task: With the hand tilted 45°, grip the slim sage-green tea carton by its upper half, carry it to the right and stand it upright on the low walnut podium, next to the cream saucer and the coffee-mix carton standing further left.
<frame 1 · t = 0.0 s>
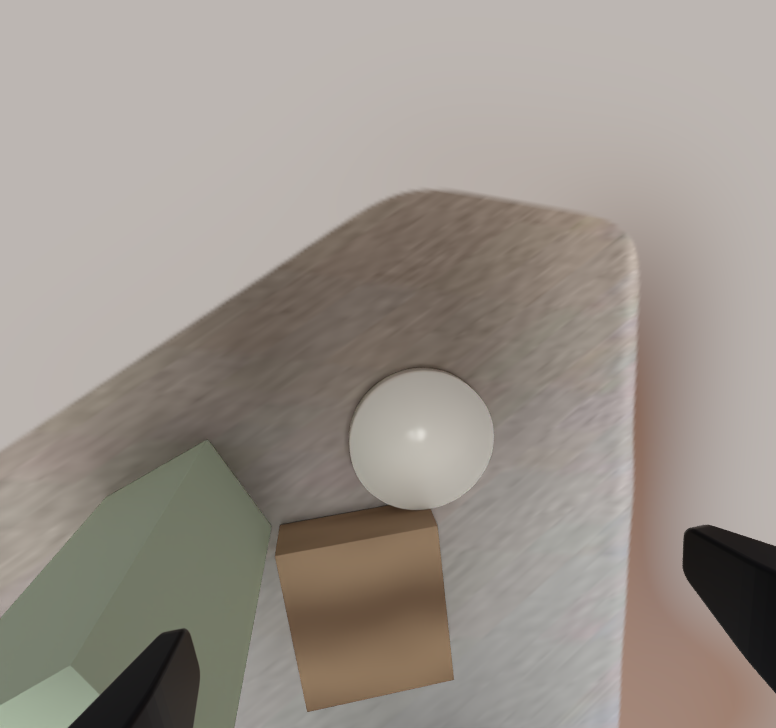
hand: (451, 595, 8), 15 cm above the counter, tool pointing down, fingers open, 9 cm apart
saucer: (419, 436, 24), on the counter
podium: (365, 586, 25), on the counter
tea carton: (191, 512, 23), on the counter
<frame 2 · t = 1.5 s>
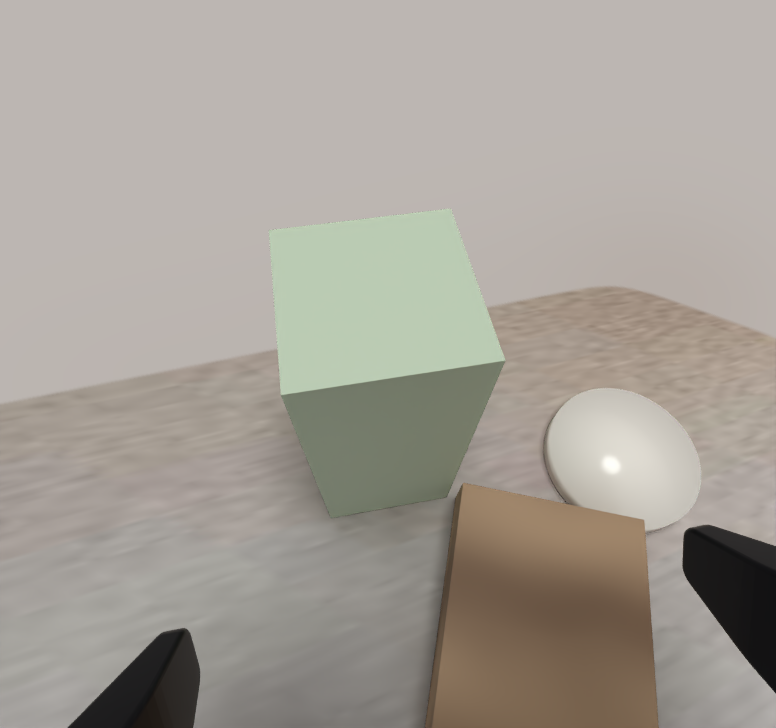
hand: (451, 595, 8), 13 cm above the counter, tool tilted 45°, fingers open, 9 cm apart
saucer: (615, 460, 23), on the counter
podium: (530, 623, 20), on the counter
tea carton: (379, 452, 24), on the counter
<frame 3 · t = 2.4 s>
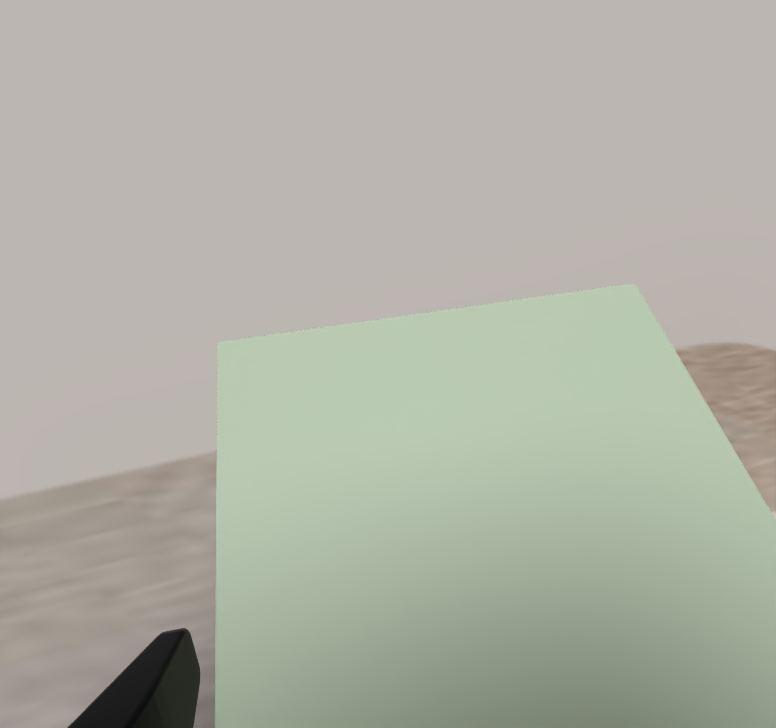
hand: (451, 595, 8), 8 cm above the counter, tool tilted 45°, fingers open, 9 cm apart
tea carton: (419, 615, 15), on the counter
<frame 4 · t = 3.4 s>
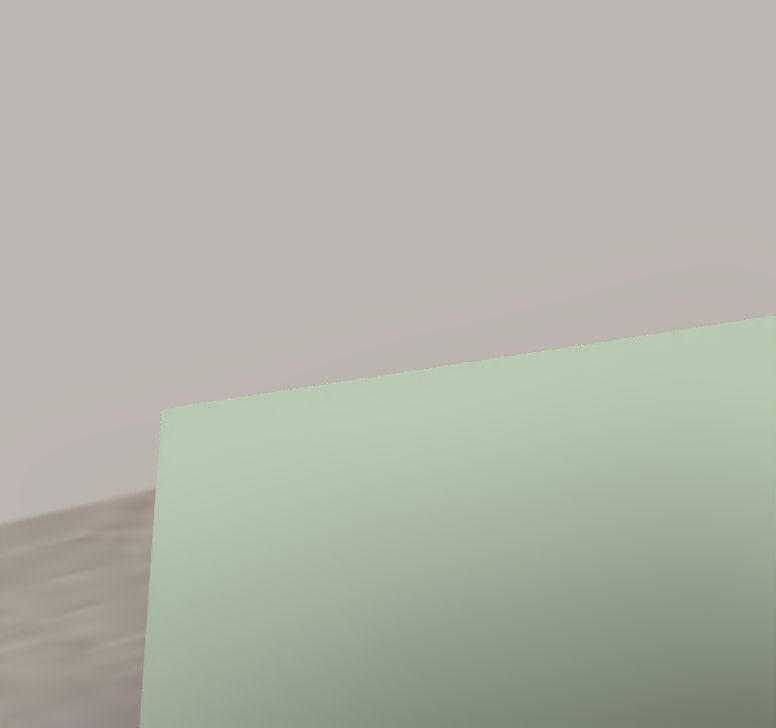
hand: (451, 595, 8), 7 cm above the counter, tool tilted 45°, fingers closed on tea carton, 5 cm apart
tea carton: (434, 672, 13), on the counter, touching gripper
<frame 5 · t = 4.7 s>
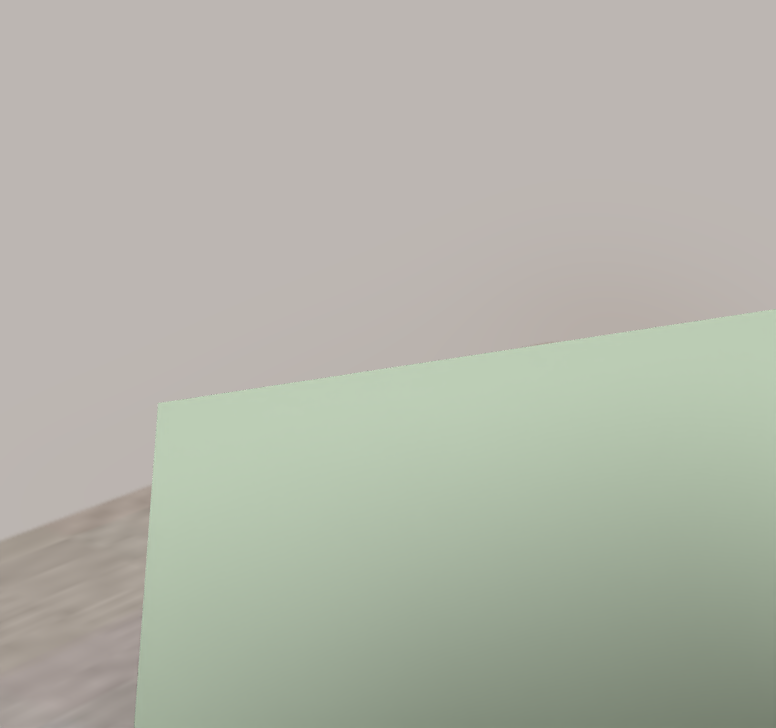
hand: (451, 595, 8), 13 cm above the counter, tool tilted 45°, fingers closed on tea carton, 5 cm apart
tea carton: (432, 670, 13), point 7 cm above the counter, touching gripper
when the fingers open (10 cm above the counter, at t = 6.0 s): tea carton stays where it is, resting on podium.
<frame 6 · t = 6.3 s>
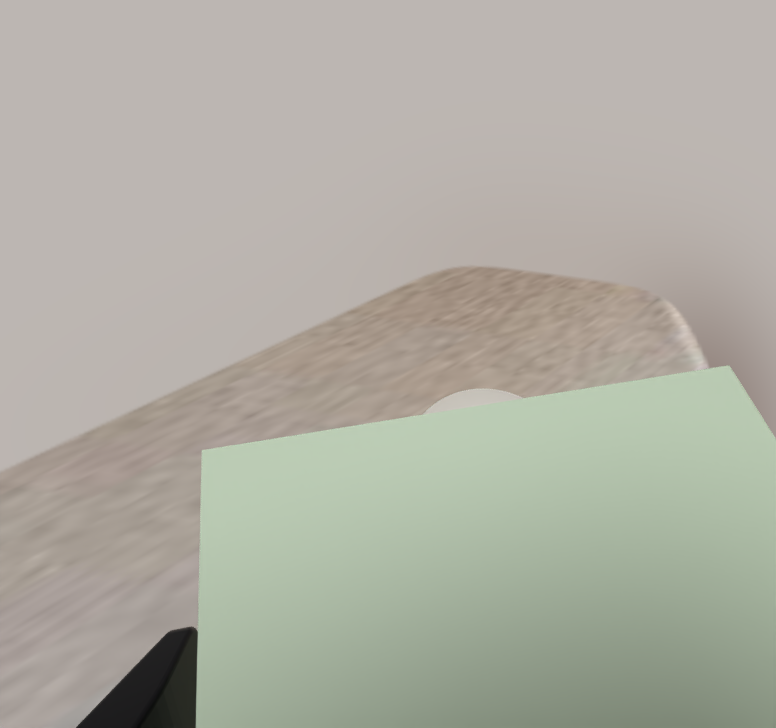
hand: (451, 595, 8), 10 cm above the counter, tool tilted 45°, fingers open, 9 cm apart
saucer: (487, 473, 20), on the counter
tea carton: (431, 669, 14), point 2 cm above the counter, touching podium
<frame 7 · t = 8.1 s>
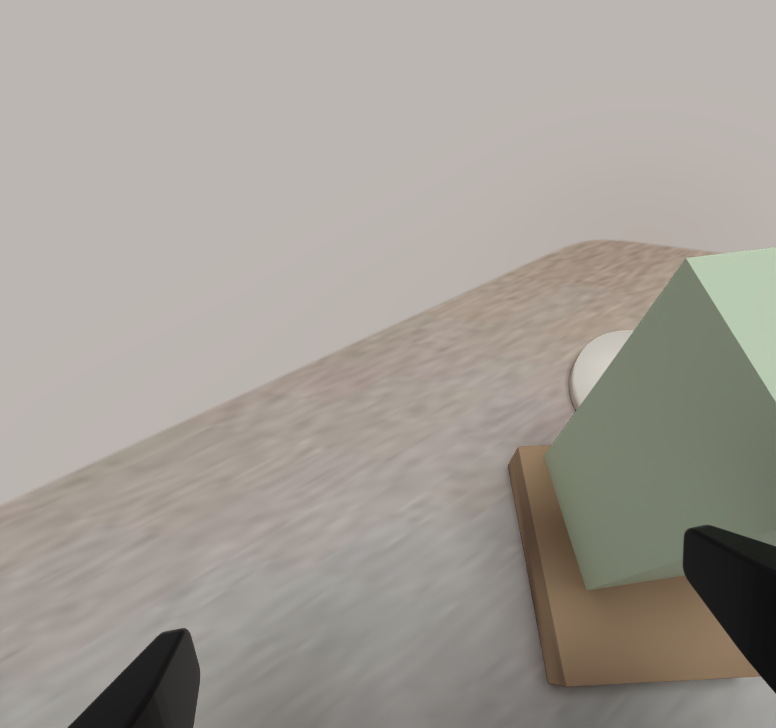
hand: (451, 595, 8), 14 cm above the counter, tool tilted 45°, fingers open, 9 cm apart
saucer: (636, 394, 25), on the counter
podium: (609, 557, 21), on the counter
tea carton: (627, 509, 20), point 2 cm above the counter, touching podium
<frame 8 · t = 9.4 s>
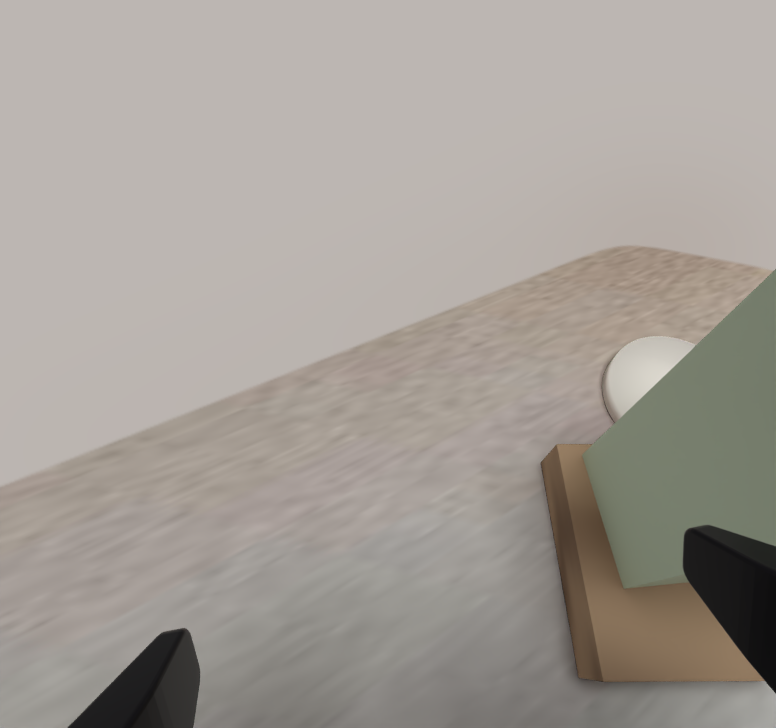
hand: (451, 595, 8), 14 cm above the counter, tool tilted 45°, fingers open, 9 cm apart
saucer: (668, 400, 26), on the counter
podium: (640, 558, 21), on the counter
tea carton: (664, 511, 20), point 2 cm above the counter, touching podium
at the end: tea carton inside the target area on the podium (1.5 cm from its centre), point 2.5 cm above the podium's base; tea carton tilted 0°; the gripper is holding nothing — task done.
